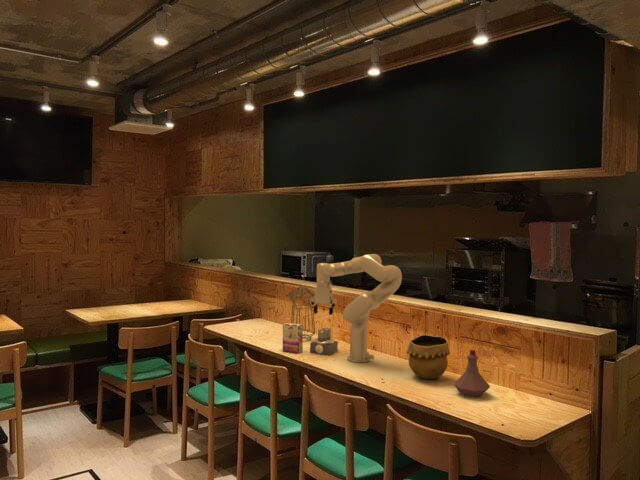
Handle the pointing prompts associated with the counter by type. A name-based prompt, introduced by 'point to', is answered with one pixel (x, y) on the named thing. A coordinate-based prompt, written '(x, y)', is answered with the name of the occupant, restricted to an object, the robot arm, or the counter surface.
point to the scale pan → (324, 342)
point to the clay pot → (428, 356)
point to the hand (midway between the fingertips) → (323, 313)
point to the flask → (472, 379)
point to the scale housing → (323, 348)
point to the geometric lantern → (303, 308)
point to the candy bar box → (293, 338)
